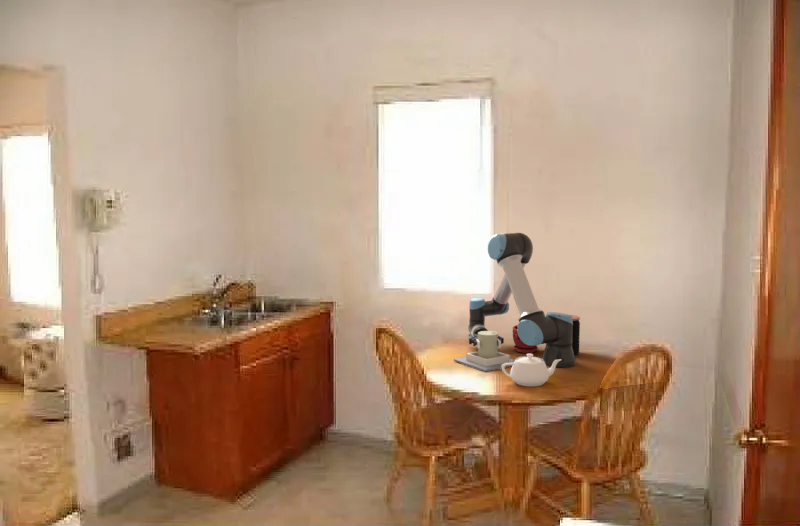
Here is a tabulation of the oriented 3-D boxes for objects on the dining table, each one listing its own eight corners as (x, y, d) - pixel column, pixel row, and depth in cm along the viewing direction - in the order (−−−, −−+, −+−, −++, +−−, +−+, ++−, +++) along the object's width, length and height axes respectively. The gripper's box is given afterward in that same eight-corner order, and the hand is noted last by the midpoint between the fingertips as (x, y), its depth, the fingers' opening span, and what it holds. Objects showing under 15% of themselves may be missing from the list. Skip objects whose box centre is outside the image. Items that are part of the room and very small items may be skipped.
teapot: (505, 389, 262) (505, 359, 260) (497, 377, 277) (497, 349, 275) (567, 388, 263) (567, 358, 261) (555, 376, 278) (556, 348, 277)
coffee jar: (583, 355, 314) (584, 318, 312) (563, 356, 311) (564, 319, 309) (571, 350, 324) (572, 314, 322) (552, 351, 321) (552, 315, 319)
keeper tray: (522, 364, 298) (522, 355, 298) (485, 372, 286) (485, 363, 286) (489, 354, 316) (489, 346, 316) (453, 361, 304) (453, 352, 304)
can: (497, 360, 296) (497, 334, 294) (476, 359, 298) (476, 333, 296) (498, 355, 305) (498, 330, 303) (478, 354, 307) (478, 329, 305)
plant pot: (506, 350, 325) (507, 326, 324) (527, 346, 332) (527, 323, 330) (524, 355, 314) (524, 331, 313) (545, 352, 320) (545, 328, 319)
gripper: (502, 341, 319) (513, 352, 297) (458, 342, 318) (465, 353, 296) (502, 325, 318) (513, 336, 296) (458, 326, 317) (466, 337, 295)
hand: (489, 345), depth 296 cm, fingers closed on can, 9 cm apart
